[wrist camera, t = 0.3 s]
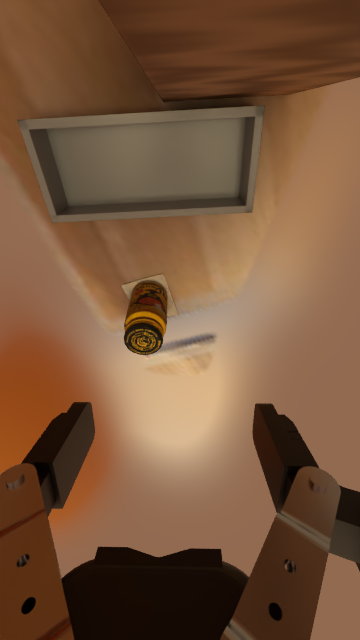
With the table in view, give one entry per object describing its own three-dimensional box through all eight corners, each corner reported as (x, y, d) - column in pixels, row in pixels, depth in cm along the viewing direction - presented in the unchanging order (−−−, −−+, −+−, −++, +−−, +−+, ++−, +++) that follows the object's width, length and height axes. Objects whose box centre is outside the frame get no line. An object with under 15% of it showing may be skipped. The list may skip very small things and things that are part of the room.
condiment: (162, 272, 42) (159, 317, 32) (178, 313, 47) (178, 362, 37) (121, 284, 43) (105, 330, 33) (140, 322, 48) (131, 372, 38)
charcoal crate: (65, 211, 36) (52, 222, 32) (38, 120, 30) (17, 120, 26) (243, 202, 35) (252, 212, 31) (252, 107, 29) (264, 105, 25)
